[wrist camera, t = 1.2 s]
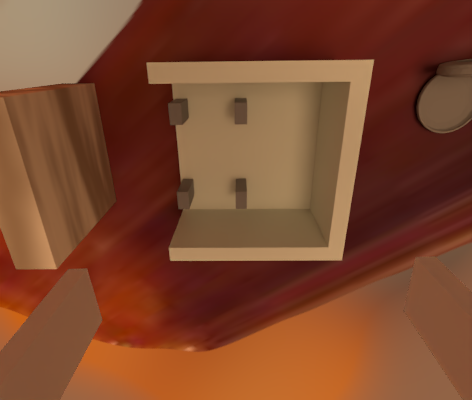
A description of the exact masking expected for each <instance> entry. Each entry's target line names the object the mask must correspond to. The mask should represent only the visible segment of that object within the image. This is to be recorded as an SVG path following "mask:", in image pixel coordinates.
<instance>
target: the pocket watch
mask: <svg viewBox="0 0 472 400" xmlns="http://www.w3.org/2000/svg"><path fill="white" fill-rule="evenodd" d="M436 73H437V75H435V76H434V77H433V78H432V79H431V80H429V82H428V83H427V84H426V85H425V86H424V88H423V89H422V91H421V93H420V95H419V97H418V100H417V106H416V109H417V116H418V119H419V121H420V122H421V124H422V125H423V126H424V127H425V128H427V129H428V130H430V131H432V132H436V133H448V132H452V131H455V130H457V129H459V128H461V127H463V126H464V125H466V124H467V123H468V122H469V121H470V120H471V119H472V59H466V60H458V61H451V62H446V63H442V64H439V66H438V68H437V71H436Z"/></svg>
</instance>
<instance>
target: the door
mask: <svg viewBox="0 0 472 400" xmlns="http://www.w3.org/2000/svg"><path fill="white" fill-rule="evenodd" d="M115 202H116V195H115V190H114V185H113V180H112V174H111V169H110V164H109V159H108V153H107V148H106V143H105V138H104V132H103V127H102V122H101V117H100V111H99V106H98V101H97V96H96V90H95V85H94V83H80V84H56V85H48V86H41V87H32V88H25V89H17V90H9V91H1V92H0V228H1V230H2V233H3V236H4V238H5V241H6V244H7V246H8V249H9V251H10V254H11V257H12V259H13V262H14V265H15V267H16V269H57V268H58V267H59V266H60V265H61V264H62V262H63V261H64V260H65V259H66V258H67V257H68V256H69V254H70V253H71V252H72V251H73V250H74V249H75V248H76V246H77V245H78V244H79V243H80V242H81V241H82V240H83V238H84V237H85V236H86V235H87V234H88V233H89V232H90V231H91V229H92V228H93V227H94V226H95V225H96V224H97V223H98V221H99V220H100V219H101V218H102V217H103V216H104V215H105V213H106V212H107V211H108V210H109V209H110V208H111V207H112V205H113V204H114V203H115Z"/></svg>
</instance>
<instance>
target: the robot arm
mask: <svg viewBox="0 0 472 400" xmlns="http://www.w3.org/2000/svg"><path fill="white" fill-rule="evenodd" d="M404 312H405V314H406V315H407V317H408V318H409V320H410V321H411V323H412V324H413V326H414V327H415V329H416V330H417V332H418V333H419V335H420V336H421V338H422V339H423V341H424V342H425V344H426V345H427V347H428V348H429V350H430V351H431V353H432V354H433V356H434V357H435V359H436V360H437V362H438V363H439V365H440V366H441V368H442V369H443V371H444V372H445V374H446V375H447V377H448V378H449V380H450V381H451V383H452V384H453V386H454V387H455V389H456V390H457V392H458V393H459V395H460V396H461V398H462V399H463V400H472V292H471V291H470V290H469V289H468V288H467V287H466V286H465V285H464V284H463V283H462V282H461V281H460V280H459V279H458V278H457V277H456V276H455V275H454V274H453V273H452V272H451V271H450V270H449V269H448V268H447V267H445V265H444V264H443V263H442V262H441V261H440V260H438V259H437V257H416V258H415V263H414V267H413V271H412V276H411V280H410V284H409V289H408V293H407V297H406V302H405V306H404ZM101 321H102V317H101V314H100V311H99V307H98V304H97V301H96V297H95V294H94V291H93V287H92V284H91V281H90V277H89V274H88V271H87V269H68V270H67V271H66V273H65V274H64V275H63V276H62V278H61V279H60V280H59V281H58V282H57V284H56V285H55V286H54V287H53V288H52V290H51V291H50V292H49V293H48V294H47V296H46V297H45V298H44V299H43V300H42V302H41V303H40V304H39V305H38V307H37V308H36V309H35V310H34V311H33V313H32V314H31V315H30V316H29V317H28V319H27V320H26V321H25V322H24V323H23V325H22V326H21V327H20V329H19V330H18V331H17V332H16V333H15V334H14V336H13V337H12V338H11V339H10V340H9V342H8V343H7V344H6V345H5V346H4V348H3V349H2V350H1V351H0V400H60V399H61V396H62V395H63V393H64V391H65V389H66V387H67V385H68V383H69V382H70V379H71V378H72V376H73V374H74V372H75V370H76V368H77V367H78V365H79V363H80V361H81V359H82V357H83V355H84V353H85V351H86V350H87V348H88V346H89V344H90V342H91V340H92V338H93V336H94V335H95V333H96V331H97V329H98V327H99V325H100V323H101Z"/></svg>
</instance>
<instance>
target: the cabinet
mask: <svg viewBox="0 0 472 400" xmlns="http://www.w3.org/2000/svg"><path fill="white" fill-rule="evenodd" d="M373 63H374V60H305V61H222V62H148V63H146V64H147V72H148V80H149V84H172V91H173V101H171V102H169V103H168V109H169V119H170V125H176V134H177V145H178V156H179V167H180V178H181V184H180V186H179V189H178V191H177V200H178V209H183V212H182V214H181V217H180V220H179V222H178V225H177V228H176V230H175V233H174V236H173V238H172V241H171V244H170V246H169V254H170V261H249V260H342V256H343V250H344V244H345V237H346V231H347V225H348V219H349V212H350V206H351V200H352V194H353V188H354V181H355V175H356V169H357V163H358V156H359V150H360V144H361V138H362V131H363V125H364V119H365V113H366V106H367V100H368V94H369V88H370V81H371V75H372V69H373Z"/></svg>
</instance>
